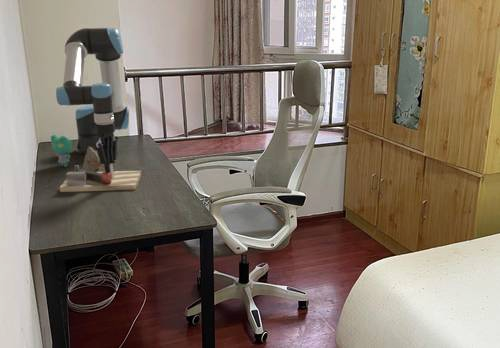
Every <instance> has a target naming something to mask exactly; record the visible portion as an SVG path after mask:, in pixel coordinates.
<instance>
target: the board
mask: <svg viewBox="0 0 500 348" xmlns="http://www.w3.org/2000/svg"><path fill="white" fill-rule="evenodd" d="M73 170H74V171H67V173H65V180H64V181H63V183H62V184H61V185H60V186H59V192H60V193H66V192H67V193H68V192H69V193H73V192H95V191H96V192H98V191H99V192H100V191H102V192H103V191H125V190H126V191H127V190H128V191H129V190H131V191H133V190H137V187H138V184H139V182H140V179H141V177H142V170H121V171H119V170H117V171H114V170H113V172H114V179H111V183H110V184H102V183H99V182H95V181H91V180H86V172H77V170H80V165H79V164H74V165H73ZM103 172H104V171H102V172H98V173H103Z"/></svg>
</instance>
